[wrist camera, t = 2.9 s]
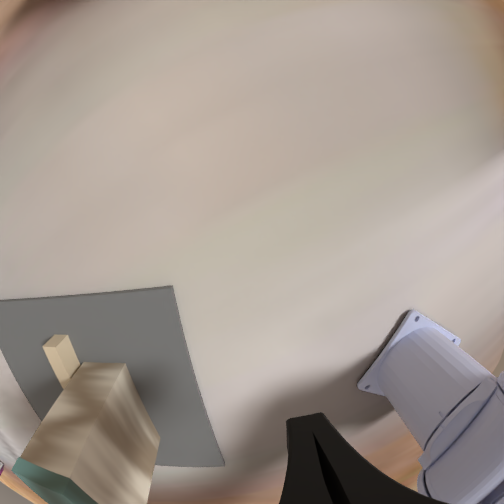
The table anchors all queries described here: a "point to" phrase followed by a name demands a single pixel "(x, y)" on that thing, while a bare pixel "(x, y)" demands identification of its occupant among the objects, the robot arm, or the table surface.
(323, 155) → the table surface
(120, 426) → the ash slab
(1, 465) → the candy bar box
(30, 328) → the rubber mat
